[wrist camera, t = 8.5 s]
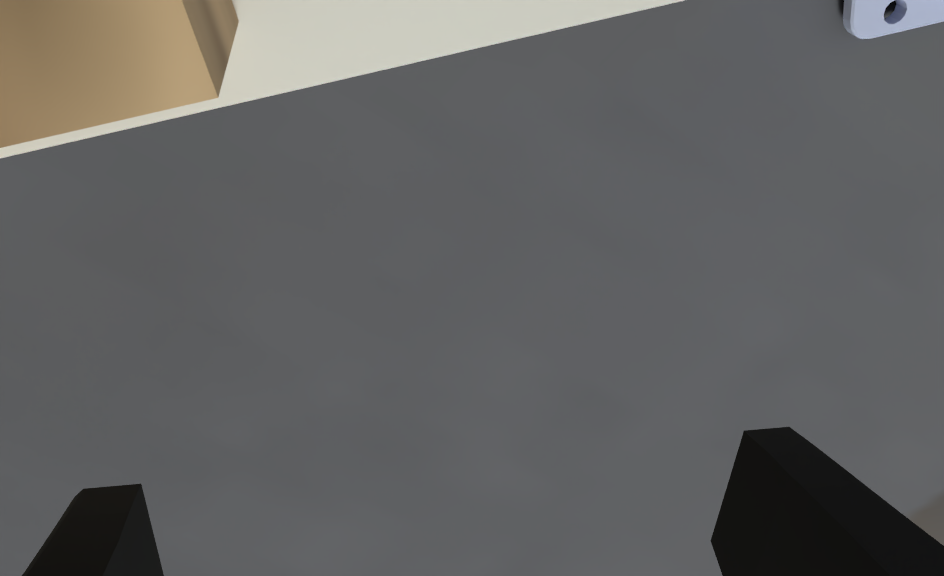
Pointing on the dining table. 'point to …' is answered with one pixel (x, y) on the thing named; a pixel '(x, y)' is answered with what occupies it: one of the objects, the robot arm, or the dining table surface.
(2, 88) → the square wooden ring
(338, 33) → the board
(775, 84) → the dining table surface
